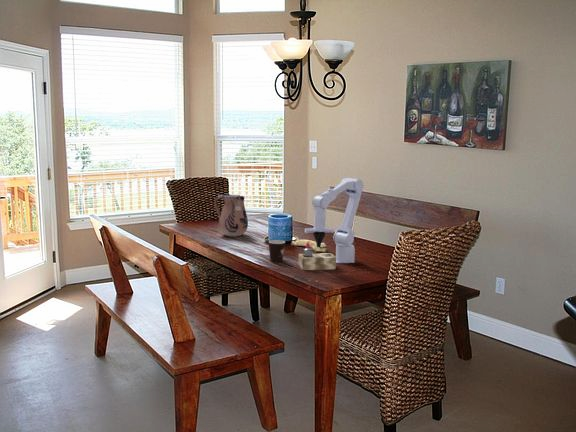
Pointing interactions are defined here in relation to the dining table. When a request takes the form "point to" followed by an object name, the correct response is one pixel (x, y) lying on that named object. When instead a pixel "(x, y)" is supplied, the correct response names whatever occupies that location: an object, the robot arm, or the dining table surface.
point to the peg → (308, 252)
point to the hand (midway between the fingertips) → (318, 246)
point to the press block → (317, 262)
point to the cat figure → (309, 244)
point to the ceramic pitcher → (232, 215)
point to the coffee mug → (276, 250)
